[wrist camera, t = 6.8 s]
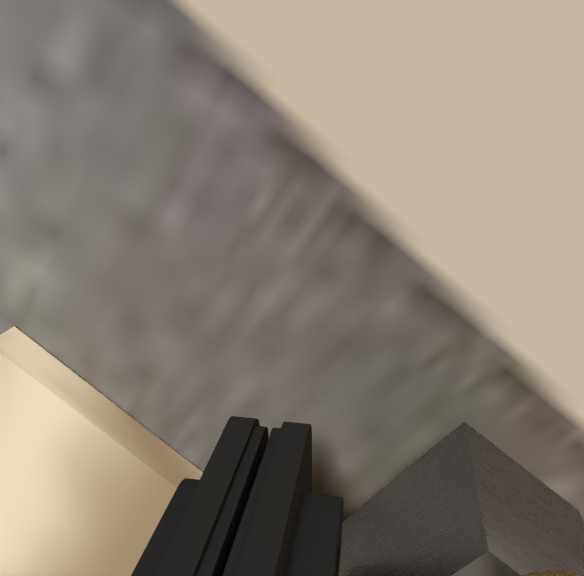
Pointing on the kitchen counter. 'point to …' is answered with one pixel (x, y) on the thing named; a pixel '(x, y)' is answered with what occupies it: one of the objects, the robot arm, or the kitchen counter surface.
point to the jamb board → (74, 471)
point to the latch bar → (464, 519)
